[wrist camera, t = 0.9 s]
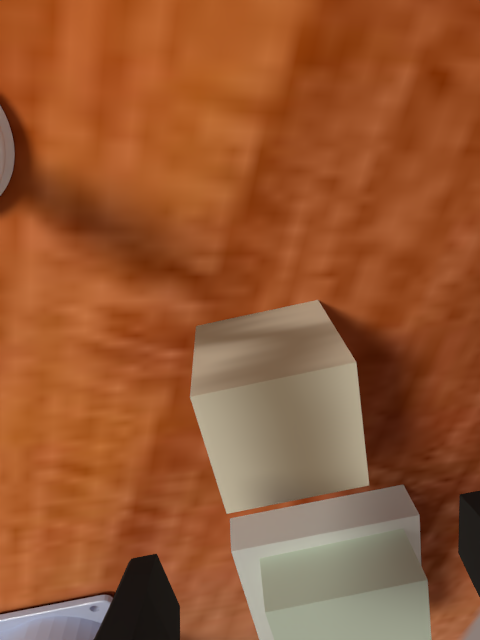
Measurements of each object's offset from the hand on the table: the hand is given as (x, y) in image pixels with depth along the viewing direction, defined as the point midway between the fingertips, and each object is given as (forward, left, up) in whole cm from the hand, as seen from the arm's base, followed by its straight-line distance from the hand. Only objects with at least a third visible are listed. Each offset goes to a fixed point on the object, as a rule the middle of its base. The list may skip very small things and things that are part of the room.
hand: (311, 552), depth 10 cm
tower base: (+1, -13, -9) cm, 16 cm away
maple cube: (0, 0, -9) cm, 9 cm away
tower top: (+1, -13, -7) cm, 15 cm away
